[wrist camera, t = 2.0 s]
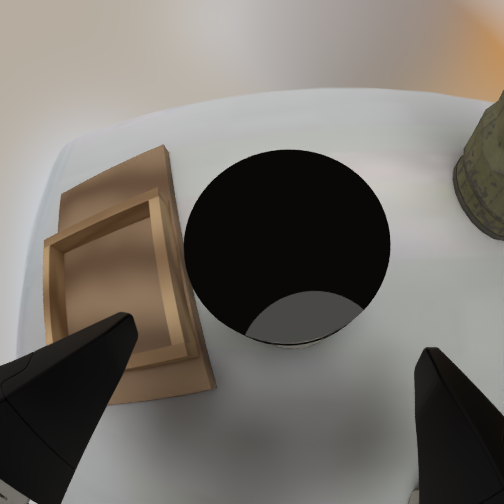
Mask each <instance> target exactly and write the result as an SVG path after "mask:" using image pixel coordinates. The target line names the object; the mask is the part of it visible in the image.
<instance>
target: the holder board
mask: <svg viewBox="0 0 504 504" xmlns="http://www.w3.org/2000/svg"><path fill="white" fill-rule="evenodd" d="M43 303H44V322H45V334H46V344H47V345H49V344H51V343H54V342H56V341H58V340H60V339H62V338H64V337H66V336H69V335H71V334H73V333H75V332H77V331H79V330H82V329H84V328H86V327H88V326H90V325H92V324H94V323H97V322H99V321H101V320H103V319H105V318H107V317H110V316H112V315H114V314H116V313H118V312H126V313H130V314H132V316H133V317H134V321H135V324H136V327H137V330H138V340H137V342H136V345H135V347H134V349H133V352H132V354H131V357H130V359H129V361H128V364H127V366H126V369H125V371H124V373H123V376H122V378H121V380H120V382H119V384H118V385H117V387H116V389H115V391H114V393H113V395H112V397H111V399H110V401H109V403H108V405H111V404H122V403H131V402H139V401H147V400H154V399H161V398H167V397H173V396H179V395H185V394H190V393H196V392H201V391H206V390H210V389H214V388H217V387H216V383H215V379H214V376H213V372H212V368H211V364H210V361H209V357H208V353H207V349H206V345H205V341H204V337H203V333H202V329H201V325H200V320H199V316H198V312H197V307H196V303H195V299H194V294H193V289H192V285H191V282H190V280H189V277H188V274H187V270H186V266H185V260H184V245H183V240H182V234H181V229H180V223H179V218H178V212H177V206H176V200H175V194H174V187H173V181H172V174H171V167H170V160H169V153H168V151H167V149H166V148H165V146H164V145H161V146H159V147H156V148H154V149H152V150H149V151H147V152H145V153H142V154H140V155H138V156H136V157H133V158H131V159H129V160H127V161H125V162H123V163H120V164H118V165H116V166H114V167H112V168H110V169H108V170H106V171H104V172H102V173H100V174H98V175H96V176H94V177H92V178H90V179H88V180H86V181H85V182H83V183H81V184H79V185H77V186H75V187H74V188H72V189H70V190H68V191H66V192H65V193H63V194H61V200H60V210H59V223H58V233H57V234H55V235H53V236H51V237H49V238H47V239H45V240H44V255H43Z"/></svg>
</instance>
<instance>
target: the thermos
mask: <svg viewBox="0 0 504 504" xmlns="http://www.w3.org/2000/svg"><path fill="white" fill-rule="evenodd" d="M453 182H454V187H455V193H456V195H457V197H458V200H459V202H460V204H461V207H462V208H463V210H464V211H465V213H466V214H467V216H468V217H469V218H470V220H471V221H472V222H473V223H474V224H475V225H476V226H477V227H478V228H479V229H480V230H481V231H482V232H483V233H485V234H487V235H489V236H490V237H492V238H494V239H498V240H504V90H503V92H502V94H501V96H500V98H499V101H497V102H496V103H495V104H493V105H492V106H490V107H489V108H488V109H486V110H485V112H484V114H483V116H482V118H481V119H480V121H479V123H478V125H477V127H476V129H475V130H474V132H473V134H472V136H471V137H470V139H469V141H468V143H467V144H466V146H465V148H464V154H463V156H461V158H460V159H459V161H458V163H457V164H456V166H455V168H454V175H453Z"/></svg>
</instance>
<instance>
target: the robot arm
mask: <svg viewBox="0 0 504 504" xmlns="http://www.w3.org/2000/svg"><path fill="white" fill-rule="evenodd" d="M137 340H138V330H137V327H136V324H135V321H134V317H133V316H132V314H130V313H126V312H118V313H116V314H114V315H112V316H110V317H107V318H105V319H103V320H101V321H99V322H97V323H94V324H92V325H90V326H88V327H86V328H84V329H82V330H79V331H77V332H75V333H73V334H71V335H69V336H66V337H64V338H62V339H60V340H58V341H56V342H54V343H51V344H49V345H47V346H45V347H43V348H41V349H38V350H36V351H35V352H32V353H30V354H28V355H26V356H23V357H21V358H19V359H16V360H14V361H12V362H9V363H7V364H4V365H1V366H0V504H29V503H28V502H29V501H30V499H31V500H32V501H34V502H36V503H37V504H61V502H62V500H63V498H64V495H65V493H66V491H67V488H68V486H69V484H70V482H71V479H72V477H73V475H74V473H75V470H76V468H77V466H78V464H79V462H80V459H81V457H82V455H83V453H84V451H85V449H86V447H87V445H88V443H89V440H90V438H91V436H92V434H93V432H94V430H95V428H96V426H97V424H98V422H99V420H100V418H101V416H102V414H103V412H104V410H105V408H106V407H107V405H108V403H109V401H110V399H111V397H112V395H113V393H114V391H115V389H116V387H117V385H118V384H119V382H120V380H121V378H122V376H123V373H124V371H125V369H126V366H127V364H128V361H129V359H130V357H131V354H132V352H133V349H134V347H135V345H136V342H137ZM414 381H415V422H416V433H417V446H418V465H419V504H504V416H503V415H502V414H501V413H500V411H499V410H498V409H497V408H496V407H495V406H494V405H493V404H492V403H491V402H490V401H489V399H488V398H487V397H486V396H485V395H484V394H483V393H482V392H481V391H480V390H479V389H478V388H477V387H476V386H475V385H474V384H473V382H472V381H471V380H470V379H469V378H468V377H467V376H466V375H465V374H464V373H463V372H462V371H461V370H460V369H459V368H458V367H457V366H456V365H455V364H454V363H453V362H452V361H451V360H450V359H449V358H448V357H447V356H446V355H445V354H444V353H443V352H442V351H441V350H440V349H439V348H437V347H426V348H425V349H424V350H423V352H422V354H421V356H420V358H419V360H418V362H417V364H416V367H415V371H414Z"/></svg>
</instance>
